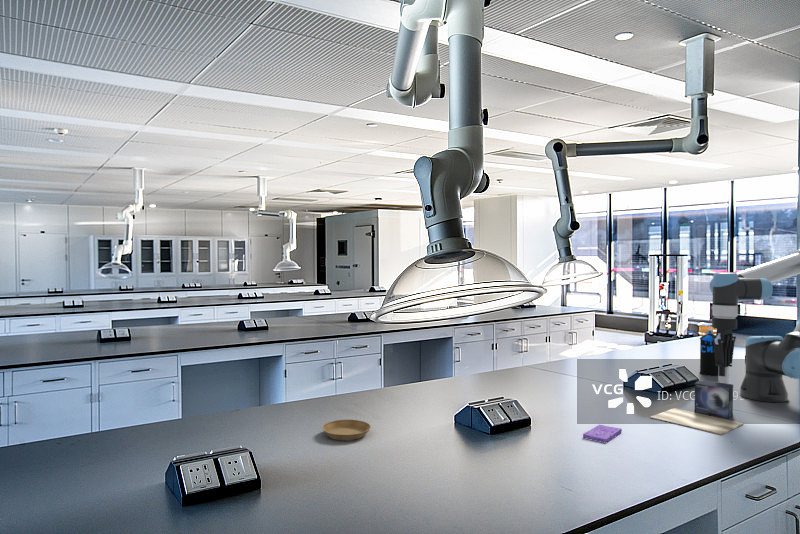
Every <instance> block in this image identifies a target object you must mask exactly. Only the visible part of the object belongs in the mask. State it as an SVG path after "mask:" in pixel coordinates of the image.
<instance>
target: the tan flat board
mask: <svg viewBox="0 0 800 534" xmlns="http://www.w3.org/2000/svg"><path fill="white" fill-rule="evenodd" d="M649 418H650V419H653V420H657V421H661V420H662V421H661V422H665V421H667V422H666V423H669V422H671V424H673V423H676V424H675V425H677V424H680V425H679V426H682V425H684V426H683V427H686V426H689V427H688V428H690V427H693V428H692V429H694V428H696V429H695V430H698V429H699V431H701V432H702V431H703V432H707V433H711V434H715V435H719V436H722V435H724V434H726V433H729V432H731V431H733V430H736V429H737V428H739V427H741V426H743V425H744V423H743V422H739V421H734V420H729V419H725V418H720V417H714V416H709V415H704V414H699V413H694V412H693V411H689V410H684V409H679V408H677V407H674V408H670V409H667V410H665V411H663V412H660V413H657V414H654V415H650V417H649Z"/></svg>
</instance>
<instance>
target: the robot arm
mask: <svg viewBox="0 0 800 534" xmlns="http://www.w3.org/2000/svg"><path fill="white" fill-rule="evenodd" d="M797 275H800V248H799V249H797V250H796V249H795V250H794V251H793V252H792V253H791V254H789V255H787V256H783V257H780V258H778V259H775V260H772V261H769V262H765V263H762V264H759V265H756V266H753V267H751V268H746V269H745V270H744V269H743V270H741V271H739V272H738V271H737V272H715V273H714V274H713V276H712V277H713V278H712V279H711V280H710V282H709V290H710V292H711V293H712V306H711V307H710V308H711V310H712V312H711V313H712V316H713V317H712V318H711V327H712V328H713V329H716V334H715V335H716V339H714V338H713V339H712V342H713V345H714V355H715V365H716V366H719V373H718V376H717V377H718V378H717V379H718V381H717V382H718V383H725V384H729V381H730V380H729V378H730V377H729V376H730V367H731V368H732V367H733V358H734V349H735V342H736V339H737V336H736V335H733V331H734V330H737V329H738V318H737V317H738V316H739V313H738V309H739V307H738V303H739V301H743V300H744V301H745V300H747V301H763V300H768V299H770V298H771V297H772V295H773V293H774V291H773V290H774V289H773V288H774V286H773V283H777V282H779V281H782V280H785V279H789V278H791V277H794V276H797ZM744 347H745V375H744V378H743V380H742V382H741V384H740V385H741V386H740V387H739V395H740V396H741V397H743V398H746V399H750V400H754V401H758V402H759V401H760V402H765V403H767V402H769V403H783V402H787V401H789V393H788V389H787V387H786V385H785V381H784V378H783V376H785V377H788V378H790V379H795V380H800V320H799V321H798V323H797V325H796V326H795V328H794V330H793V331H792V332H789V333H788V332H787V333H786V334H785V335H784V337H783V336H781V335H780V336H779V335H753V336H752V335H750V336H748V337H746V341H745V346H744Z"/></svg>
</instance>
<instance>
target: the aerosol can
mask: <svg viewBox="0 0 800 534" xmlns="http://www.w3.org/2000/svg"><path fill="white" fill-rule="evenodd" d="M713 330H714V328H713V329H712V328H708V329H707V333H706V334H704V335H701V337H699V340H700V341H699V342H700V345H699V346H700V347H699V349H700V350H699V352H700V353H699V355H700V356H699V360H700V361H699V364H700V365H699V374H700V375H703V376H709V377H718V373H719V366H716V365H715V355H714V345H713V342H712V339H713V338H714V339H716V334H714V331H713Z"/></svg>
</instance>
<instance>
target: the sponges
mask: <svg viewBox="0 0 800 534" xmlns="http://www.w3.org/2000/svg"><path fill="white" fill-rule="evenodd" d="M622 432H623V430H622V428H621V427H614V426H608V425H603V424H598V425H597V426H594V427H593V428H591V429H590V430H588V431H584V433H582V439H585V438H587V439H586V440H589V439H592V440H591V441H594V440H597V441H596V442H598V441H601V442H600V443H603V442H605V443H604V444H607V443H608V442H610V441H611V440H613V439H614V438H616V437H617V436H619V435H620V434H621V433H622ZM618 434H619V435H618ZM615 436H616V437H615ZM612 438H613V439H612ZM609 440H610V441H609ZM607 441H608V442H607ZM606 442H607V443H606Z"/></svg>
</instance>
